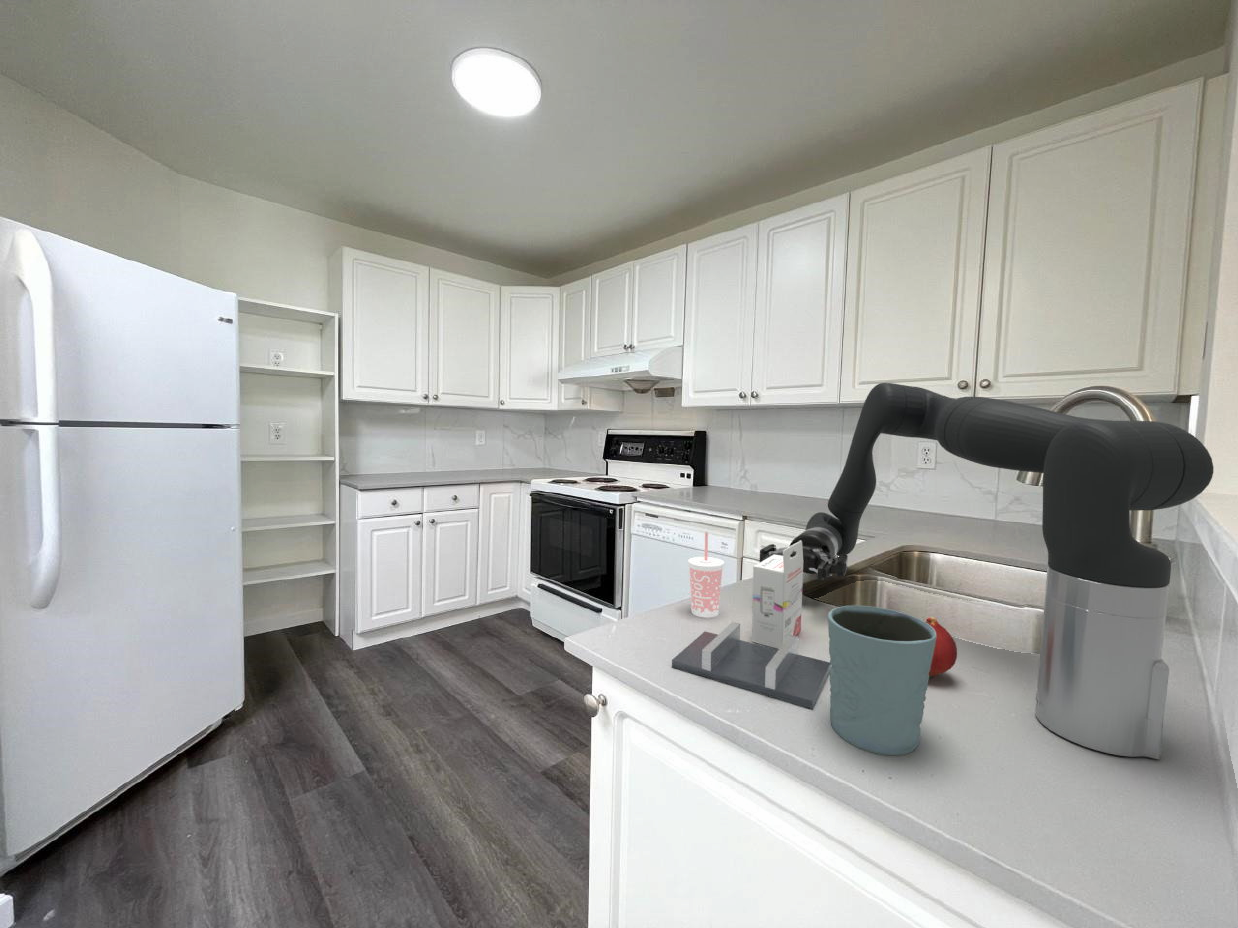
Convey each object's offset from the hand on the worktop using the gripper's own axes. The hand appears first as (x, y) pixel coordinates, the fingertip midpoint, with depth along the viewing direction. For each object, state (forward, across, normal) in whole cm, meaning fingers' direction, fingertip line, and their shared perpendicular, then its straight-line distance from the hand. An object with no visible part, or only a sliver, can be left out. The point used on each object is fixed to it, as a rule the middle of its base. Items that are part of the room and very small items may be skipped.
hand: (792, 569), depth 84 cm
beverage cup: (+5, -13, +9) cm, 17 cm away
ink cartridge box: (+8, 0, +9) cm, 12 cm away
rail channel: (+20, 0, +8) cm, 22 cm away
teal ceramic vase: (+26, +15, +9) cm, 31 cm away
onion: (+9, +20, +9) cm, 24 cm away
